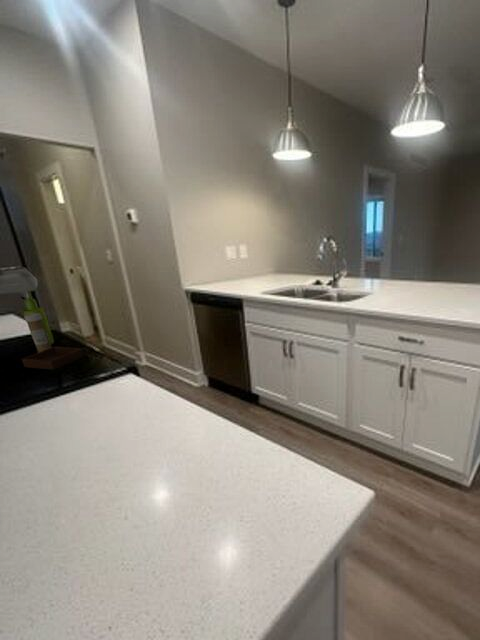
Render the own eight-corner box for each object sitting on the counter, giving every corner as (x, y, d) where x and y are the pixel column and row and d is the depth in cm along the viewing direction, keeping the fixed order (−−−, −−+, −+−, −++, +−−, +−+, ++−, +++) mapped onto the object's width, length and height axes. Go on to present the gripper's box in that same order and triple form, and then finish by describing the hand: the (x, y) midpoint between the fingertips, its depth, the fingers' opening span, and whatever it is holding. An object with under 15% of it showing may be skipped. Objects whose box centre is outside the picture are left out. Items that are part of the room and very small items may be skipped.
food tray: (24, 367, 108) (21, 359, 107) (56, 354, 118) (54, 346, 117) (54, 369, 105) (51, 361, 104) (84, 356, 115) (82, 348, 114)
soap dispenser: (36, 348, 125) (16, 293, 117) (35, 344, 130) (15, 291, 122) (55, 344, 128) (37, 290, 121) (53, 340, 133) (35, 288, 126)
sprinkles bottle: (55, 348, 124) (42, 312, 119) (50, 352, 120) (36, 315, 114) (41, 350, 123) (27, 313, 118) (35, 354, 119) (21, 317, 113)
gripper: (23, 256, 94) (47, 286, 106) (-70, 263, 88) (-33, 294, 100) (23, 274, 91) (47, 303, 104) (-73, 283, 86) (-35, 312, 98)
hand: (7, 299), depth 102 cm, fingers open, 8 cm apart
